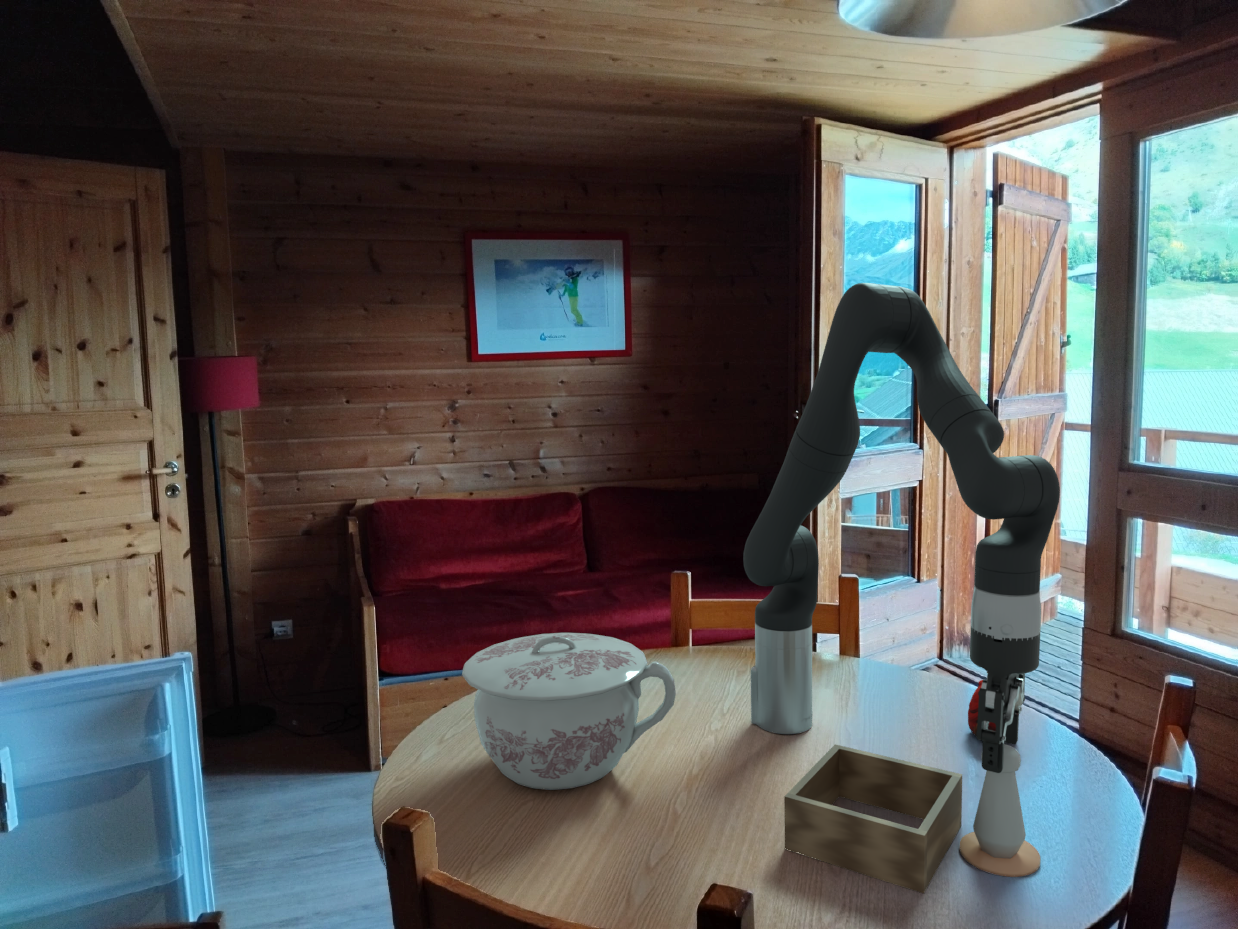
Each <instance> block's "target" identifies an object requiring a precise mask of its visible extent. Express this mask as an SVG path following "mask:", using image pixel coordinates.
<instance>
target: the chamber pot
mask: <svg viewBox="0 0 1238 929" xmlns="http://www.w3.org/2000/svg"><path fill="white" fill-rule="evenodd" d="M461 673H462V674H461V676H462V678H464V680H465V681H466V682H467V684H468V685H469V686H470V687H472V688H474V689H476V692H475V695H474V701H473V710H474V712H473V713H474V723H475V726H476V729H477V734H478V737H479V741H480V744H481V746H482V747H483V749H484V751H485V752H486V754H487V755H488V756H489V758H490V759H491V760H492V762H493V764H495V766H496V767H497V768H498V770H499V771H500V773H502V775H503V776H505V778H507V779H509V780H511V781H512V782H514V783H515V784H518V785H521V786H524V787H527V788H531V789H535V790H536V789H539V790H547V791H548V790H549V791H552V790H553V791H554V790H555V791H556V790H568V789H574V788H577V787H583V786H586V785H589V784H591V783H594V782H596V781H599V780H600V779H602V778H604V777H606V775H608V774H609V773H611V771H612V770H613V769H615V767H617V765H618V763H619V762H620V760H621V759H622V757H623V756H624V754H625V753H627V752H628V751H629V750H630V749H631V747H632V746H633V745H634V744H635V743H636V741H637V740H638V739H639V738H640V737H641V736H642V735H643V734H644V733H646V732H647V731H648V730H649V729H651V728H652V727H655V725H657V724H658V723H660V722H661V721H663V719H664V718H665V717H666V715H667V714H668V713H669V711H671V709H672V708H673V706H674V705H675V701H676V700H675V699H676V696H677V692H676V683H675V682H676V681H675V678H674V677H673V675H672V673H671V671H670V670H669V669H668V668H667V666H665V665H664V664H662V663H661V662H660V661H652V662H651V663H650V664H648V660H647V658H646V654H645V653H644V652H643V651H642V650H641V649H640V648H638V647H636V646H635V645H634V644H632V643H630V642H628V641H625V640H622V639H619V638H616V637H613V636H607V635H606V636H605V635H601V634H600V635H599V634H593V633H585V632H584V633H582V632H581V633H580V632H554V633H553V632H552V633H541V634H534V635H528V636H527V635H525V636H522V637H516V638H512V639H509V640H505V641H503V642H499V643H495V644H492V645H490V646H488V647H486V648H484V649H482V650H479V651H477V652H476V653H475V654H473V655H472V656H471V657H470V658H469V659H468V660H466V662H465V663H464V664H463V668H462V672H461ZM652 677H653V678H659V679H661V680H662V682H663V685H664V692H665V693H664V697H663V701H662V703H661V704H660V705H659V706H658V708H657V709H656V710H655V711H654V712H653V713H652V714H651V715H649V716H647V717H645V718H644V719H642V720H640V721H639V722H637V721H638V717H639V716H638V715H639V709H640V708H639V707H640V706H639V705H640V704H639V699H640V697H642V684H641V682H642V681H643V680H645V679H647V678H652Z"/></svg>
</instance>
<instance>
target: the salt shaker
mask: <svg viewBox="0 0 1238 929" xmlns="http://www.w3.org/2000/svg"><path fill="white" fill-rule="evenodd" d="M980 757H981V759H980V760H982V753H981V756H980ZM1021 761H1022V760H1021V754H1020V752H1019V751H1018V750H1017V749H1016V748H1015V747H1014V746H1011V745H1009V744H1007V743H1004V760H1003V770H1002V771H1001V773H995V772H991V771H987V770H985V776H984V779H983V780H984V781H983V784H982V788H981V792H980V797H979V802H978V804H977V808H976V813H975V818H974V821H973V826H972V828H973V832H975V835H976V837H977V840H978V842H979V845H980V847H981V850H982V851H984V852H985V853H987V854H989V855H991V856H992V857H994V858H1008V859H1011V858H1012V857H1013V856H1014V855H1015V854H1016V853H1017V852H1018V851H1019V849H1020V847H1021V845H1022V844H1023V842H1024V840H1025V841H1026V836H1027V835H1026V829H1025V822H1024V816H1023V810H1022V805H1021V799H1020V793H1019V787H1018V782H1017V776H1016V772H1018V771H1019V768H1020V767H1021Z"/></svg>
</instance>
